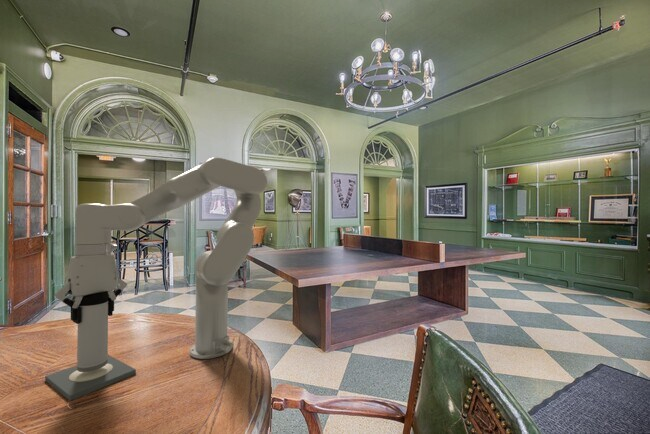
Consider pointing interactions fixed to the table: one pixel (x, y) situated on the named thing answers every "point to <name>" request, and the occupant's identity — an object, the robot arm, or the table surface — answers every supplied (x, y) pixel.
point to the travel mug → (93, 333)
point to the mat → (88, 378)
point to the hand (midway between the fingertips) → (93, 318)
